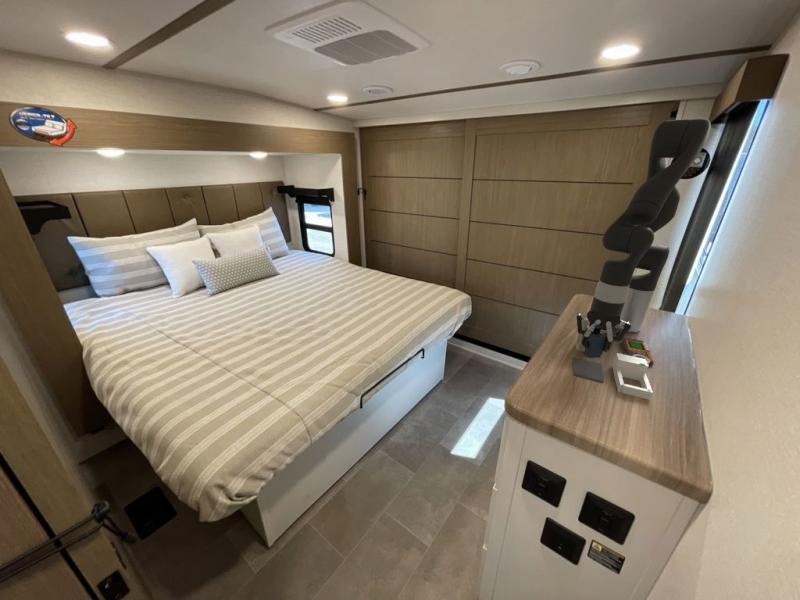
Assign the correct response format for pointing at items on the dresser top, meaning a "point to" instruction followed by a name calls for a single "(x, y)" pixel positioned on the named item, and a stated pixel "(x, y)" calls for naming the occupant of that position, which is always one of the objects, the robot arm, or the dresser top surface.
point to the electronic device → (637, 349)
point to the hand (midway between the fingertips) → (594, 347)
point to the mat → (587, 369)
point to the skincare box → (579, 339)
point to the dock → (631, 375)
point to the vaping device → (595, 343)
